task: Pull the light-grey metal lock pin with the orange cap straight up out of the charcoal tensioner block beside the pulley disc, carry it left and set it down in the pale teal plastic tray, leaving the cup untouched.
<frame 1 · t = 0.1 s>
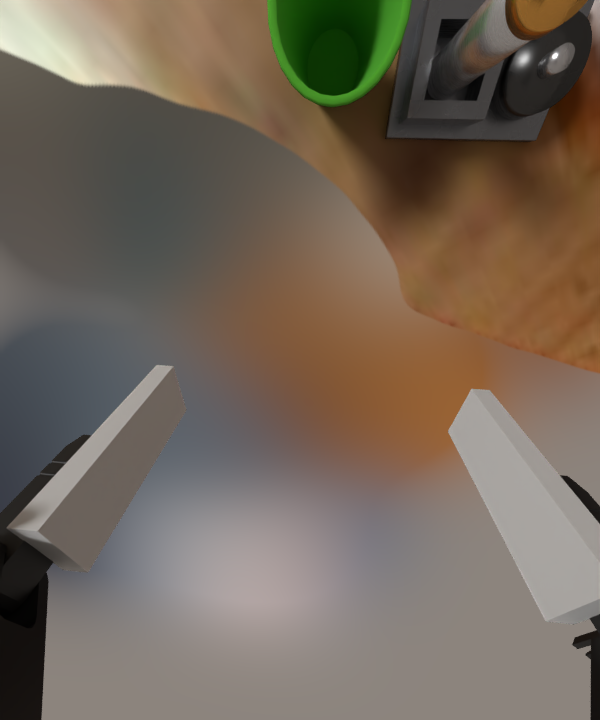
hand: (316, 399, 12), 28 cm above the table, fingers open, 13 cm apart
tensioner: (441, 78, 25), on the table
pin: (445, 75, 24), point 1 cm above the table, touching tensioner
cup: (332, 71, 25), on the table
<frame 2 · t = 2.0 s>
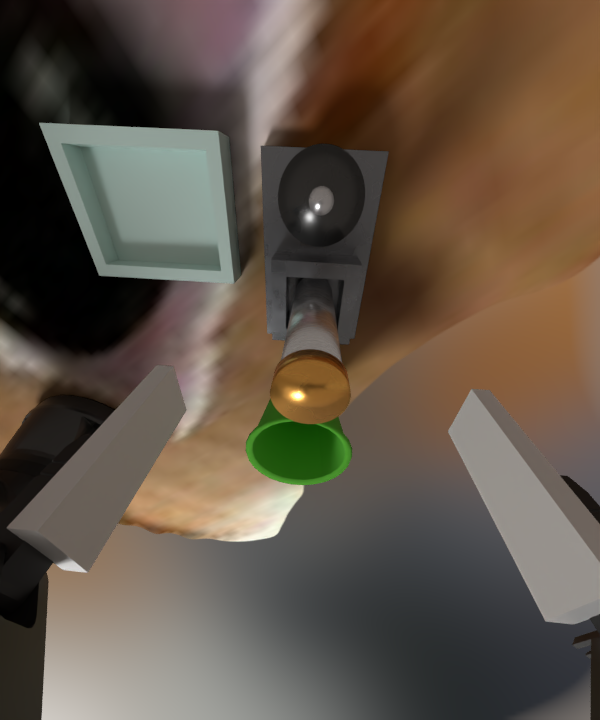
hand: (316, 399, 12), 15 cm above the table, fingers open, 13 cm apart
tensioner: (313, 290, 25), on the table
pin: (313, 293, 24), point 1 cm above the table, touching tensioner
tray: (165, 211, 22), on the table
cup: (304, 375, 31), on the table
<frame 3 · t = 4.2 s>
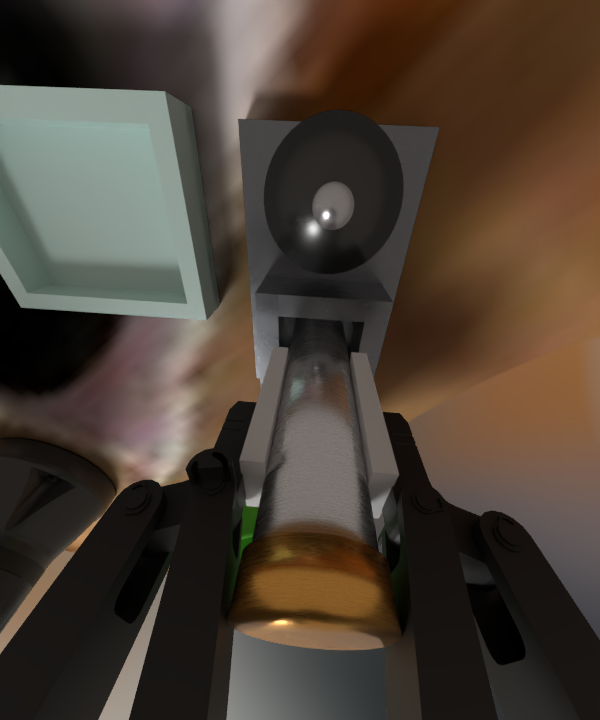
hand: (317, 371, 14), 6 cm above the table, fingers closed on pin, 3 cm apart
tensioner: (318, 324, 18), on the table
pin: (318, 331, 17), point 1 cm above the table, touching gripper
tray: (109, 219, 15), on the table
cup: (304, 423, 24), on the table
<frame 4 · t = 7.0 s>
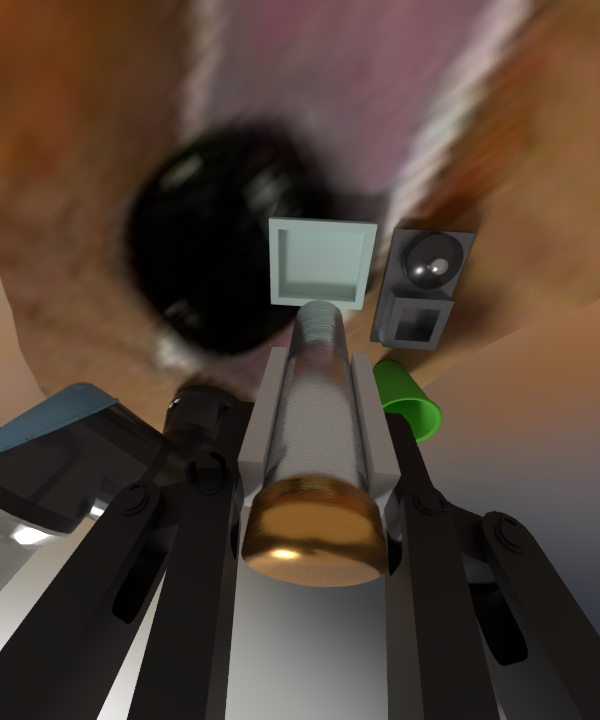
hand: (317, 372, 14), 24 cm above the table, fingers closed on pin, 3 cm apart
tensioner: (407, 312, 36), on the table
pin: (318, 322, 18), point 18 cm above the table, touching gripper
tray: (319, 263, 33), on the table
cup: (386, 371, 42), on the table
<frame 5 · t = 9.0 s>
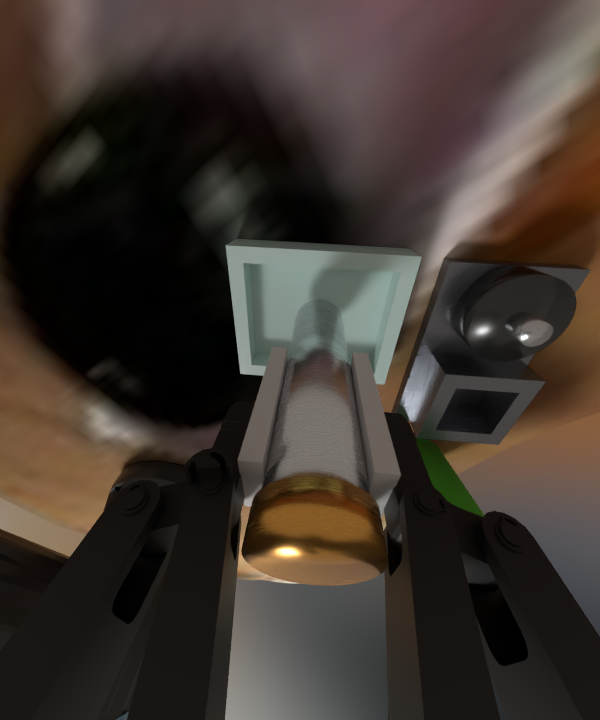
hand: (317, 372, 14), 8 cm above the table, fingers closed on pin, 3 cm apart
tensioner: (452, 381, 23), on the table
pin: (318, 322, 18), point 2 cm above the table, touching gripper
tray: (316, 310, 20), on the table
cup: (413, 450, 30), on the table
when the fingers open (6 cm above the table, at t = 10.1 s): pin stays where it is, resting on tray.
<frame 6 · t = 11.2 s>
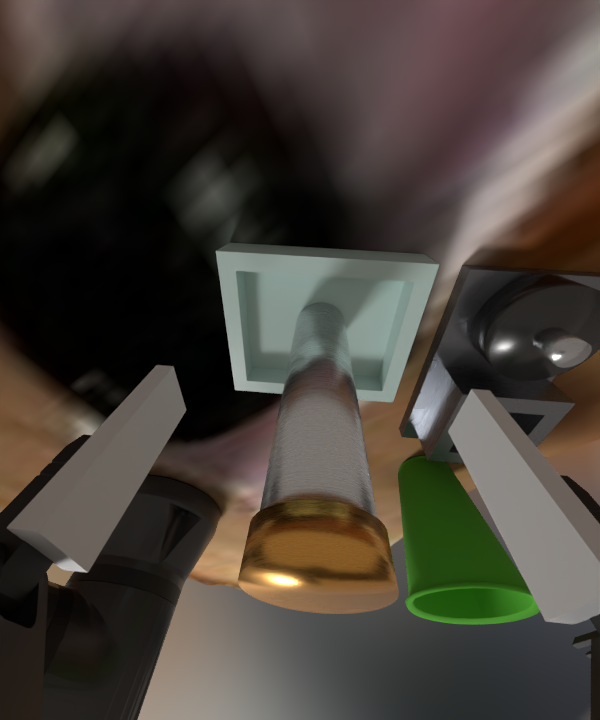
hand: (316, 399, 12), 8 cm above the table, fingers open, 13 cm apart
tensioner: (466, 396, 21), on the table
pin: (320, 325, 18), point 1 cm above the table, touching tray
tray: (318, 321, 19), on the table
cup: (421, 467, 28), on the table
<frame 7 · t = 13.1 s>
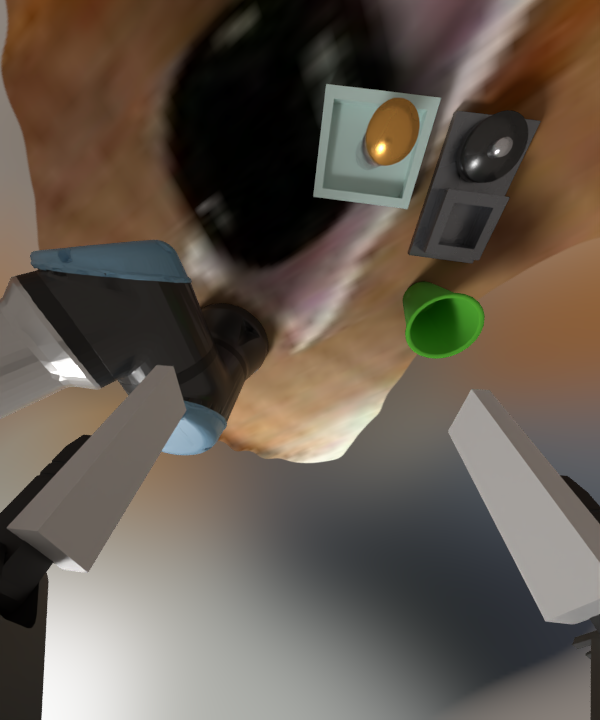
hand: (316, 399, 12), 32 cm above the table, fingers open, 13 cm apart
tensioner: (452, 222, 35), on the table
pin: (370, 152, 31), point 1 cm above the table, touching tray
tray: (368, 154, 31), on the table
cup: (419, 296, 41), on the table
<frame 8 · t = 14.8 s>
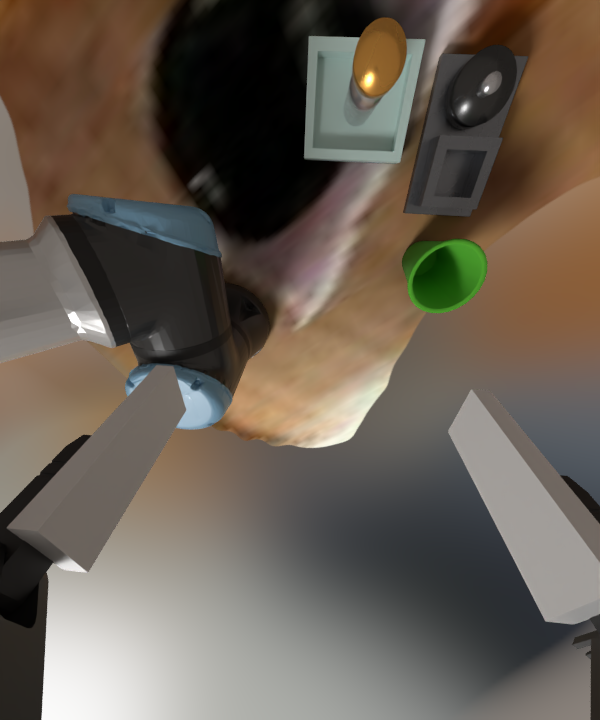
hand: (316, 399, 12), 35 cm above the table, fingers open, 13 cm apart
tensioner: (446, 175, 34), on the table
pin: (357, 107, 31), point 1 cm above the table, touching tray
tray: (356, 110, 31), on the table
cup: (418, 258, 40), on the table
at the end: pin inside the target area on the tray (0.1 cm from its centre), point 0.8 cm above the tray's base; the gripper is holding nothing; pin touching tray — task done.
